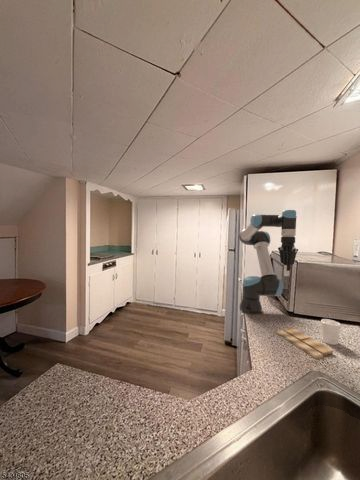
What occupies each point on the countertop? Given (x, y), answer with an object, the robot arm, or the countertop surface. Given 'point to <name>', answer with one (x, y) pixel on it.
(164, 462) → the countertop surface
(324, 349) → the plank
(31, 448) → the countertop surface
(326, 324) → the white cup
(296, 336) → the plank
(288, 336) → the laid board
